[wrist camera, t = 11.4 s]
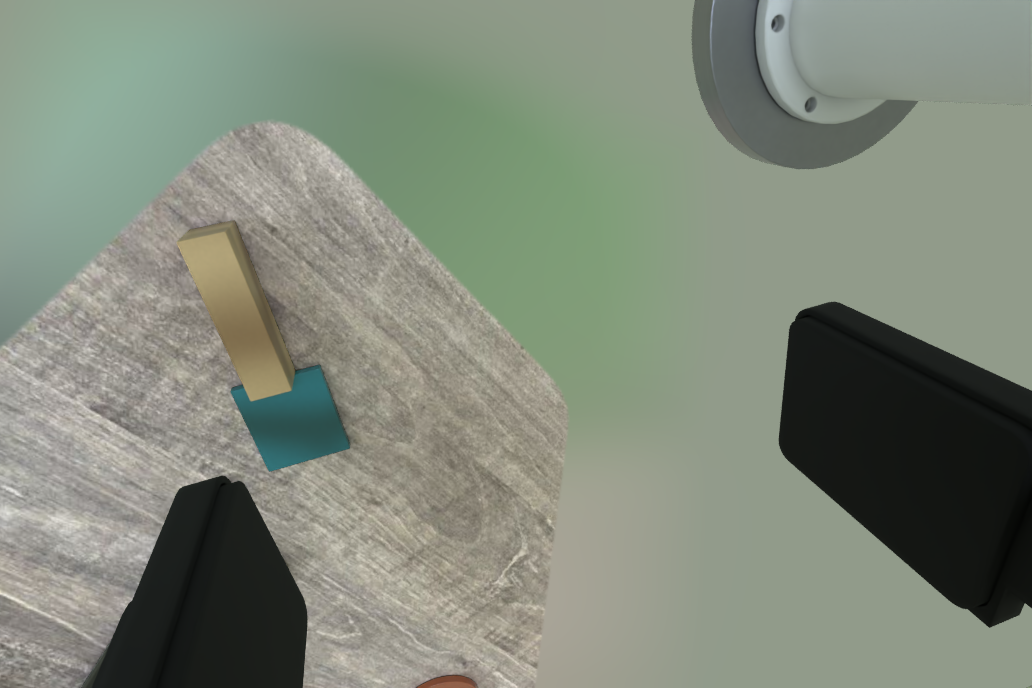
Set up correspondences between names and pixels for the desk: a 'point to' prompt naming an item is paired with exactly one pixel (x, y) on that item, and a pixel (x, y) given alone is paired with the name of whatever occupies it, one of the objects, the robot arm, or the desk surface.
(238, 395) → the spatula
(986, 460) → the robot arm
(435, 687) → the coaster
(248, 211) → the desk surface
